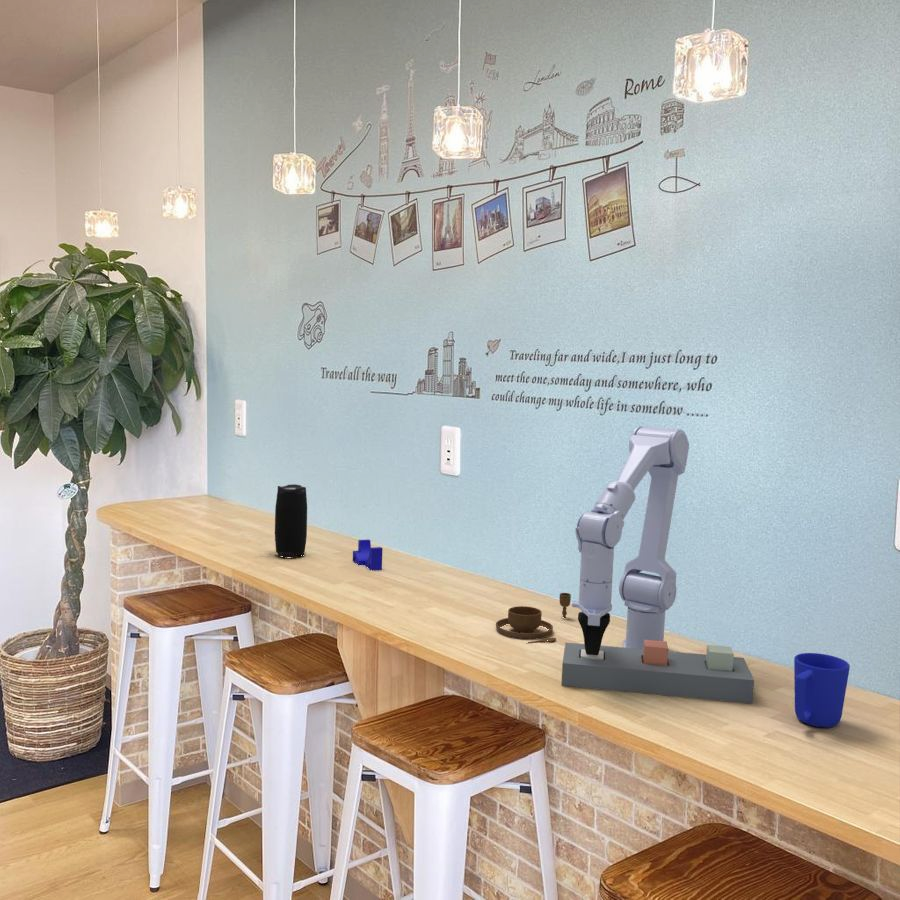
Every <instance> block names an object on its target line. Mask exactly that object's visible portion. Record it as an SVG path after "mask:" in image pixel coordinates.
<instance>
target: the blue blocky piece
mask: <svg viewBox="0 0 900 900" xmlns="http://www.w3.org/2000/svg"><path fill="white" fill-rule="evenodd" d="M357 540H358V541H357V542H358V543H357V544H358V545H357V550H352V562H353V561H354V564H356V563H357V564H358V565H365V566H364V567H365V568H367V567H368V568H369V569H368V568H367V569H368V570H370V571H371V570H372V571H382V570H383V550H384V549H383V547H382V546H375V547H374V546H373V547H372V546H371V543H372V542H371V540H370V539H369V538H368V539H357ZM357 564H356V565H357ZM358 565H357V566H358Z"/></svg>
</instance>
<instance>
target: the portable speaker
mask: <svg viewBox="0 0 900 900" xmlns="http://www.w3.org/2000/svg"><path fill="white" fill-rule="evenodd" d="M306 488H307V487H306V486H302V485H300V484H294V483H293V484H287V485H284V486H281V485H278V486H277V492H276V501H275V510H274V512H275V513H274V541H275V543H274V544H275V552H276V554H277V555H278V557H279V556H283V557H293V558H294V557H295V556H301V555H302V556H301V557H304V556H305V555H306V554H305V551H306V544H307V538H308V537H307V535H308V534H307V533H308V500H307V499H308V498H307V497H308V496H307V489H306ZM303 555H304V556H303Z"/></svg>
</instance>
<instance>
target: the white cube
mask: <svg viewBox="0 0 900 900" xmlns="http://www.w3.org/2000/svg"><path fill="white" fill-rule="evenodd" d="M603 657H604V651H599V654H598V655H587V654H586V651H585V650H584V649H581V658H587V659H599V660H603Z"/></svg>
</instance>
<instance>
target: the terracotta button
mask: <svg viewBox="0 0 900 900" xmlns="http://www.w3.org/2000/svg"><path fill="white" fill-rule="evenodd" d="M668 651H669V646H668V641H665V640H664V641H655V640H644V646H643V663H644V664H655V665H666V666H667V661H668Z"/></svg>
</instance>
